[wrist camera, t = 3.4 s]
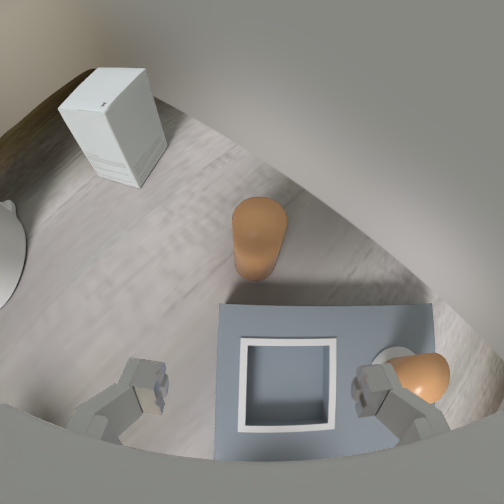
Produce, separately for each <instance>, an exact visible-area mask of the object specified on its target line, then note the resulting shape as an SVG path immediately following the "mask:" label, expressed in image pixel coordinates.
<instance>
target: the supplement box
mask: <svg viewBox="0 0 504 504" xmlns="http://www.w3.org/2000/svg"><path fill="white" fill-rule="evenodd" d="M58 110H59V112H60V114H61V116H62V117H63V119H64V121H65V123H66V124H67V126H68V128H69V129H70V131H71V133H72V134H73V136H74V138H75V139H76V141H77V143H78V144H79V146H80V147H81V149H82V151H83V152H84V154H85V155H86V157H87V159H88V160H89V162H90V163H91V165H92V167H93V168H94V170H95V171H96V173H97V174H98V176H100V177H103V178H106V179H110V180H113V181H116V182H120V183H123V184H126V185H130V186H133V187H136V188H141V186H142V185H143V183H144V182H145V180H146V179H147V177H148V175H149V174H150V172H151V171H152V169H153V168H154V166H155V165H156V163H157V162H158V160H159V159H160V157H161V156H162V154H163V153H164V151H165V150H166V148H167V146H168V145H167V141H166V138H165V135H164V132H163V128H162V125H161V122H160V118H159V115H158V111H157V108H156V104H155V101H154V97H153V94H152V90H151V87H150V83H149V79H148V76H147V72H146V69H143V68H97V69H96V70H95V71H94V72H93V73H92V74H91V75H90V76H89V77H87V78H86V79H85V80H84V81H83V82H82V83H81V84H80V85H79V86H78V87H77V88H76V89H75V90H74V91H73V92H72V94H71V95H70V96H69V97H68V98H67V99H66V100H65V101H64V102H63V103H62V104H61V105H60V106H59V107H58Z"/></svg>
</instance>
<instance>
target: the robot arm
mask: <svg viewBox="0 0 504 504" xmlns="http://www.w3.org/2000/svg"><path fill="white" fill-rule="evenodd" d="M25 252H26V238H25V232H24V229H23V226H22V224H21V223H20V221H19V220H18V218H17V216H16V207H15V203H14V202H12V201H11V200H6V201H4V202H0V308H1V307H2V306H3V305H4V304H5V303H6V302H7V301H8V299H9V298H10V296H11V295H12V293H13V291H14V290H15V288H16V285H17V283H18V281H19V278H20V275H21V272H22V269H23V264H24V259H25ZM165 371H166V366H165V363H164V362H158V361H151V360H145V359H138V358H132V357H131V358H130V359H129V360H128V362H127V364H126V366H125V369H124V371H123V373H122V375H121V378H120V380H119V382H118V384H116V383H114V384H113V385H111V386H110V387H108V388H107V389H105V390H104V391H102V392H100V393H99V394H97V395H96V396H94V397H93V398H91V399H89V400H88V401H86V402H85V403H83V404H82V405H80V406H78V407H77V408H76V409H75V411H74V413H73V415H72V418H71V420H70V422H69V424H68V426H67V428H63V427H60V426H57V425H55V424H52V423H50V422H47V421H45V420H42V419H40V418H37V417H35V416H33V415H31V414H28V413H26V412H24V411H22V410H20V409H18V408H16V407H14V406H12V405H9V404H7V403H1V404H0V504H504V410H500V411H498V412H496V413H494V414H491V415H489V416H487V417H485V418H482V419H480V420H477V421H475V422H473V423H470V424H467V425H465V426H462V427H460V428H457V429H454V430H450V428H449V426H448V424H447V421H446V419H445V417H444V415H443V413H442V412H441V411H440V410H438V409H437V408H435V407H434V406H432V405H431V404H429V403H428V402H426V401H425V400H423V399H422V398H420V397H419V396H417V395H416V394H414V393H413V392H411V391H410V390H408V389H407V388H403V387H402V385H401V383H400V381H399V379H398V377H397V375H396V373H395V371H394V368H393V366H392V365H391V364H390V363H384V364H374V365H364V366H359V367H358V368H357V370H356V375H357V376H356V377H355V378H353V380H352V383H351V396H352V399H353V400H355V401H356V405H355V409H356V412H357V416H358V418H361V417H369V416H375V417H376V418H377V419H378V420H379V421H380V422H381V423H382V424H383V425H385V426H386V427H387V428H388V429H389V430H390V431H391V432H392V433H393V434H394V435H395V436H396V437H397V438H398V439H399V440H400V441H399V442H398V443H397V444H396V446H395V447H392V448H387V449H383V450H378V451H373V452H367V453H361V454H355V455H349V456H342V457H334V458H325V459H315V460H302V461H281V462H242V461H221V460H209V459H198V458H189V457H182V456H175V455H168V454H162V453H156V452H151V451H146V450H141V449H136V448H131V447H127V446H123V445H122V443H121V441H120V440H119V438H118V436H119V435H120V434H122V433H123V432H124V431H125V430H126V429H127V428H128V427H129V426H130V425H132V424H133V423H134V422H135V421H136V420H137V419H138V418H139V417H140V416H141V415H142V414H143V413H146V414H153V415H161V416H162V412H163V409H164V405H165V403H164V399H163V398H165V397H166V396H167V393H168V387H169V380H168V375H166V374H165Z"/></svg>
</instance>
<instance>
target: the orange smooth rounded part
mask: <svg viewBox="0 0 504 504" xmlns="http://www.w3.org/2000/svg"><path fill="white" fill-rule="evenodd" d="M232 225H233V241H234V256H235V266H236V269H237V271H238V273H239V274H240V275H241V276H242V277H243V278H245V279H247V280H250V281H260V280H263V279H265V278H267V277H268V276H269V275H270V274H271V273H272V271H273V269H274V266H275V263H276V260H277V257H278V254H279V250H280V247H281V244H282V241H283V238H284V235H285V231H286V228H287V215H286V213H285V211H284V209H283V208H282V206H281V205H280V204H278V203H277V202H276V201H274V200H272V199H270V198H266V197H252V198H249V199H246V200H244V201H243V202H241V203H240V204H239V205H238V206H237V207H236V209H235V211H234V213H233V217H232Z"/></svg>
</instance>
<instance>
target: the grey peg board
mask: <svg viewBox="0 0 504 504" xmlns="http://www.w3.org/2000/svg"><path fill="white" fill-rule="evenodd" d="M384 363H390V364H391V365H392V366H393V368H394V371H395V373H396V375H397V377H398V379H399V381H400V383H401V385H402V387H403V388H407V389H408V390H410V391H411V392H413V393H414V394H416V395H417V396H419V397H420V398H422V399H423V400H425V401H426V402H428V403H429V404H431V405H432V406H434V407H435V402H436V401H437V400H439V399H440V398H441V397H442V395H443V394H444V393H445V391H446V389H447V387H448V384H449V379H450V370H449V366H448V363H447V361H446V360H445V358H444V357H443V356H442V355H440V354H438V353H435V337H434V322H433V310H432V303H430V304H409V305H380V306H269V305H238V304H220V308H219V327H218V349H217V373H216V403H215V449H214V460H222V461H245V462H277V461H299V460H313V459H323V458H332V457H340V456H347V455H354V454H360V453H366V452H371V451H376V450H381V449H386V448H390V447H395V446H396V444H397V443H398V442H399V441H400V440H399V439H398V438H397V437H396V436H395V435H394V434H393V433H392V432H391V431H390V430H389V429H388V428H387V427H386V426H385V425H383V424H382V423H381V422H380V421H379V420H378V419H377V418H376V417H375V416H369V417H361V418H358V416H357V412H356V409H355V405H356V401H355V400H353V399H352V396H351V383H352V380H353V378H355V377H356V376H357V375H356V370H357V368H358V367H359V366H364V365H374V364H384Z"/></svg>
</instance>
